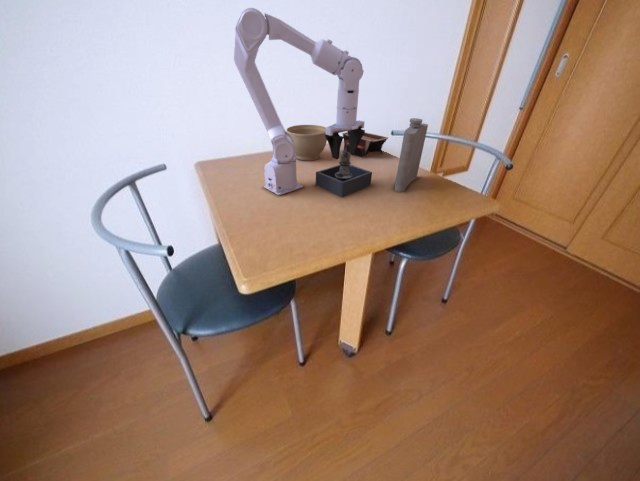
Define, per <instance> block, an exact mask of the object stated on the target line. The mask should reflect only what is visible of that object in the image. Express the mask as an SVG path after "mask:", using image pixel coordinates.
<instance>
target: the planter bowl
mask: <svg viewBox="0 0 640 481" xmlns="http://www.w3.org/2000/svg"><path fill="white" fill-rule="evenodd" d="M326 127H327V126H324V125H317V124H297V125H292V126H289V127H287V128H286V129H285V131H286V132H287V133H288V134H289V135H290V136H291V137H292V139H293V145H294V147H295V156H296V159H297V160H299V161H315V160H318V159H320V156H321V154H322V153H323V152H324V150H325V148H326V146H327V143H328V141H327V139H326V137H325V133H326Z"/></svg>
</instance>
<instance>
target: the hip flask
mask: <svg viewBox="0 0 640 481" xmlns="http://www.w3.org/2000/svg"><path fill="white" fill-rule="evenodd" d="M428 127H429V123H423V119H422V118H417V117H413V118H409V127H407V128H406V129H405V130H404V131H403V136H402V143H401V149H400V154H399V161H398V166H397V171H396V177H395V182H394V188H393V190H394V191H395V192H398V193H403V192H405V191H406V188H407V187H408V186H409V185H410V183H411V182H413V181H414V180H416V179H417V178H418V174H419V173H418V172H419V169H420V163H421V159H422V155H423V150H424V145H425V141H426V137H427V132H428Z"/></svg>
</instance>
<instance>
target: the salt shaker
mask: <svg viewBox="0 0 640 481" xmlns="http://www.w3.org/2000/svg"><path fill="white" fill-rule="evenodd" d="M350 160H351V154H350V152H348V151H347V148H345V150H344V149H343V150H342V151H341V152H340V161H339V162H338V163H339V164H338V165H340V170H339V172H337V173H335V176H336V179H338V180H340V181H346V180H349V179H351V178H352V177H353V174H352V173H350V171H349V165H352V163H351V162H350Z"/></svg>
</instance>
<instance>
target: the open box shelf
mask: <svg viewBox="0 0 640 481" xmlns="http://www.w3.org/2000/svg"><path fill="white" fill-rule="evenodd" d="M339 170H340V164H337V165H333V166H330V167H327V168H324V169H322V170H318V171H315V186H317V187H318V188H320V189H322V190H325V191H327V192H329V193H332V194H333V195H336V196H338V197H341V198H344V197H346V196H348V195H351V194H354V193H356V192H358V191H361V190H363V189H366V188H367V187H370V186H371V185H372V178H373V172H372V171H371V170H367V169H364V168H362V167H359V166H356V165H353V164H350V165H349V171H350V173H352V174H353V177H352V178H351V179H349V180H346V181H340V180H338V179H336V176H335V173H337V172H339Z"/></svg>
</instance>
